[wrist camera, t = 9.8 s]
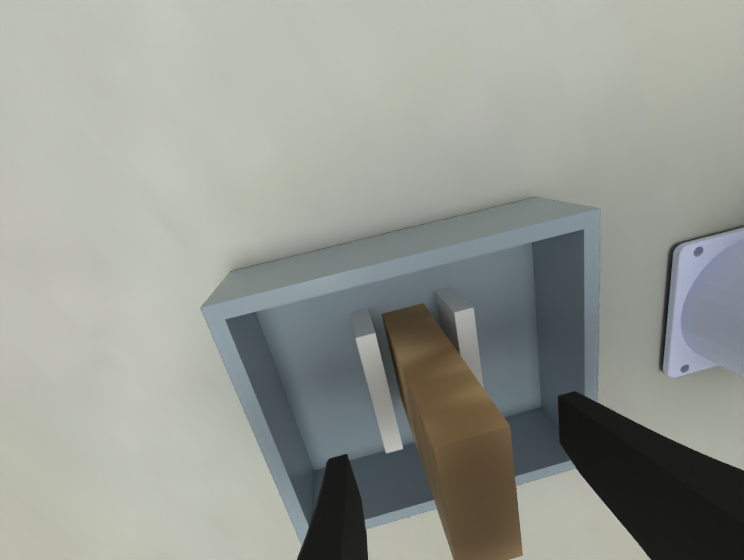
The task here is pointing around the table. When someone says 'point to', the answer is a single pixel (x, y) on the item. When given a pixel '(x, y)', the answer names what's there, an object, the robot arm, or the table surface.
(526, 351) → the slotted square caddy
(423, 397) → the wooden rectangular block
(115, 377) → the table surface
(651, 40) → the table surface
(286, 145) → the table surface
